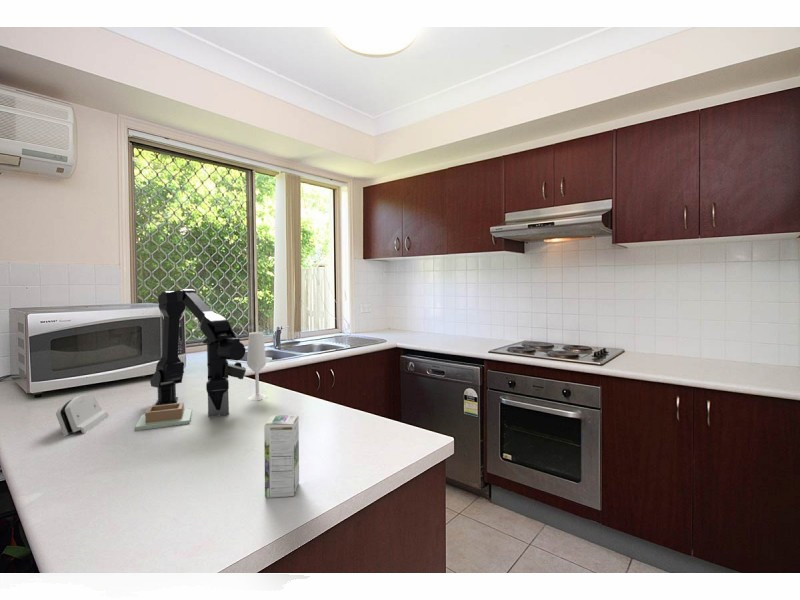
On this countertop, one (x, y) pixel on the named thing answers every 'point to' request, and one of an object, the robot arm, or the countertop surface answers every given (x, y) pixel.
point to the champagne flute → (256, 359)
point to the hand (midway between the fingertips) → (218, 406)
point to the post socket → (164, 416)
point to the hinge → (80, 414)
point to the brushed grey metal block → (224, 406)
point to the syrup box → (281, 456)
